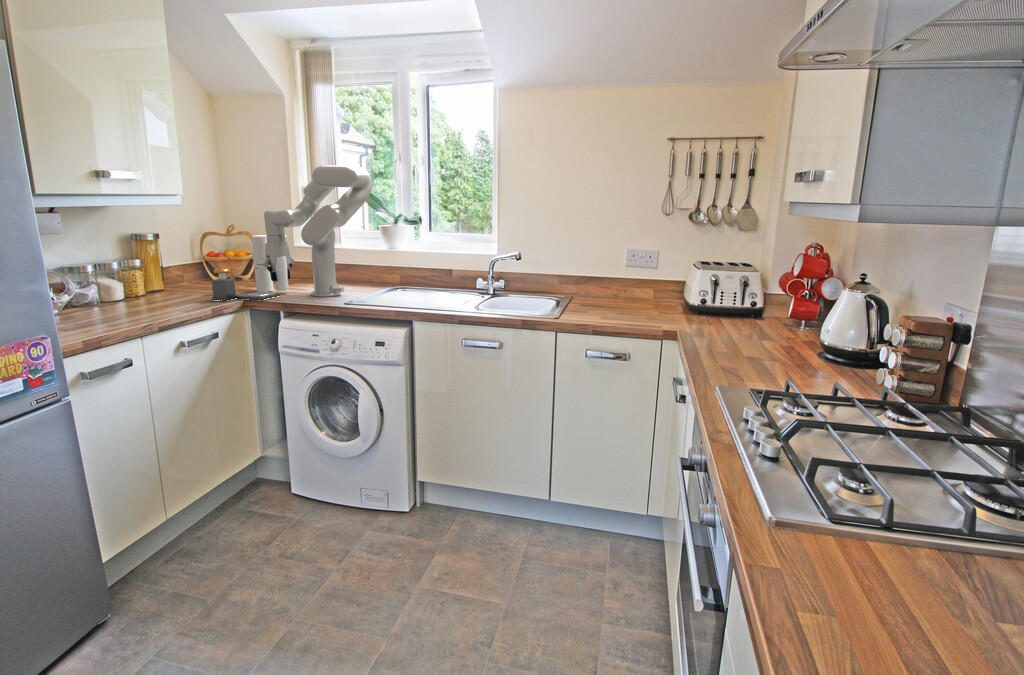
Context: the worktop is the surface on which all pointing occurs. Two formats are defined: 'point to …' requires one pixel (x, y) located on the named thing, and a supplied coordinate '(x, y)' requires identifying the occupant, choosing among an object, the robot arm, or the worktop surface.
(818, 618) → the worktop surface
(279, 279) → the drinking glass
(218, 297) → the press base
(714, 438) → the worktop surface
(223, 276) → the plunger
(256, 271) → the cylindrical container
